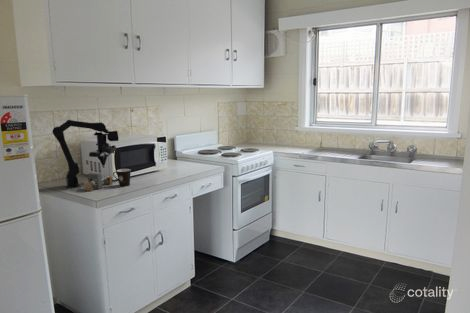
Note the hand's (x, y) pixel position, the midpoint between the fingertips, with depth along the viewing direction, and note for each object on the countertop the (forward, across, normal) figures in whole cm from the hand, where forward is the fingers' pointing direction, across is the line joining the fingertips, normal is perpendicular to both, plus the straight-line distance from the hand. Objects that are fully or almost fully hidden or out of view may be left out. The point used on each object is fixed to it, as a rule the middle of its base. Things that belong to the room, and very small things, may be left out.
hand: (103, 165), depth 239 cm
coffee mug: (+12, 0, -15) cm, 19 cm away
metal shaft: (+12, -10, -4) cm, 16 cm away
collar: (+12, -13, -4) cm, 18 cm away
